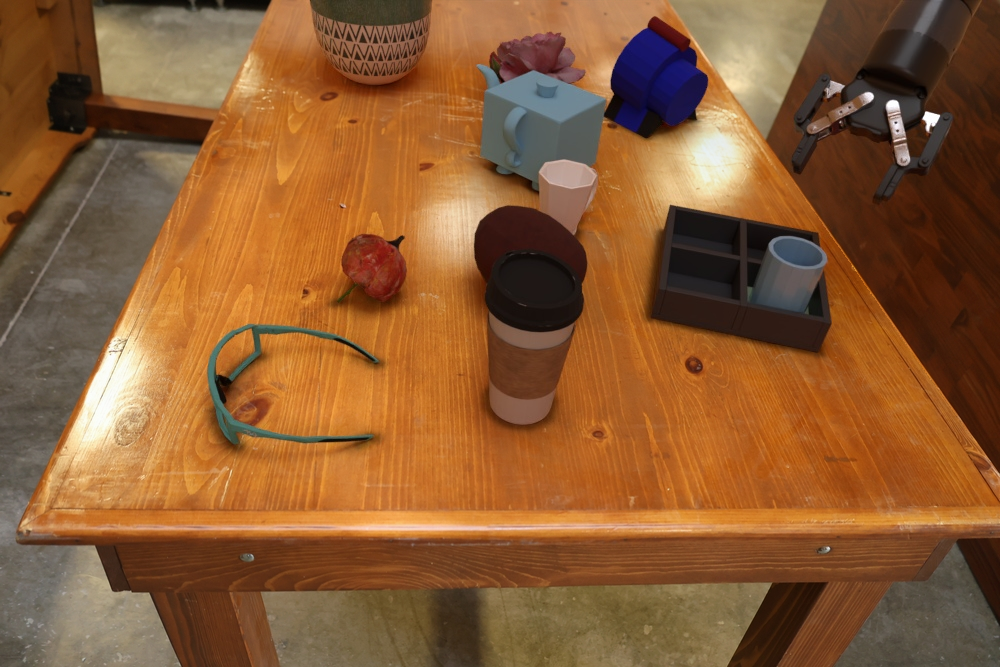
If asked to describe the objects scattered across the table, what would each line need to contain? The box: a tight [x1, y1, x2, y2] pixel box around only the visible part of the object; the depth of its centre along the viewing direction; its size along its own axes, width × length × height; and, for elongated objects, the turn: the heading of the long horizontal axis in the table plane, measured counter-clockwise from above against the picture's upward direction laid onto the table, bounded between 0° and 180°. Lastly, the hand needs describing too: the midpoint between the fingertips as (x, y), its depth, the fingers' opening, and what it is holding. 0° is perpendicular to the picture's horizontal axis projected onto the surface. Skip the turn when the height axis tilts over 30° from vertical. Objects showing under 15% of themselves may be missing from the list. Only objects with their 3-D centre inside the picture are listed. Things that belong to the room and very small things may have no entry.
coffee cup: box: [484, 249, 585, 426], centre depth 68 cm, size 8×8×15 cm
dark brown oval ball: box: [473, 204, 588, 284], centre depth 82 cm, size 11×13×10 cm
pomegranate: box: [336, 233, 408, 303], centre depth 82 cm, size 7×7×10 cm
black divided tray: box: [650, 204, 833, 353], centre depth 89 cm, size 18×18×4 cm
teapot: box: [476, 63, 607, 192], centre depth 105 cm, size 18×16×13 cm
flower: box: [488, 31, 587, 84], centre depth 125 cm, size 15×15×10 cm
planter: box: [309, 0, 433, 86], centre depth 120 cm, size 20×20×21 cm
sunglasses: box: [206, 323, 380, 445], centre depth 70 cm, size 14×15×5 cm
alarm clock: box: [604, 15, 709, 139], centre depth 118 cm, size 12×12×15 cm
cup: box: [538, 159, 599, 236], centre depth 95 cm, size 7×10×8 cm
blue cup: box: [748, 236, 828, 314], centre depth 83 cm, size 6×6×8 cm
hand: (835, 186), depth 80 cm, fingers open, 8 cm apart
